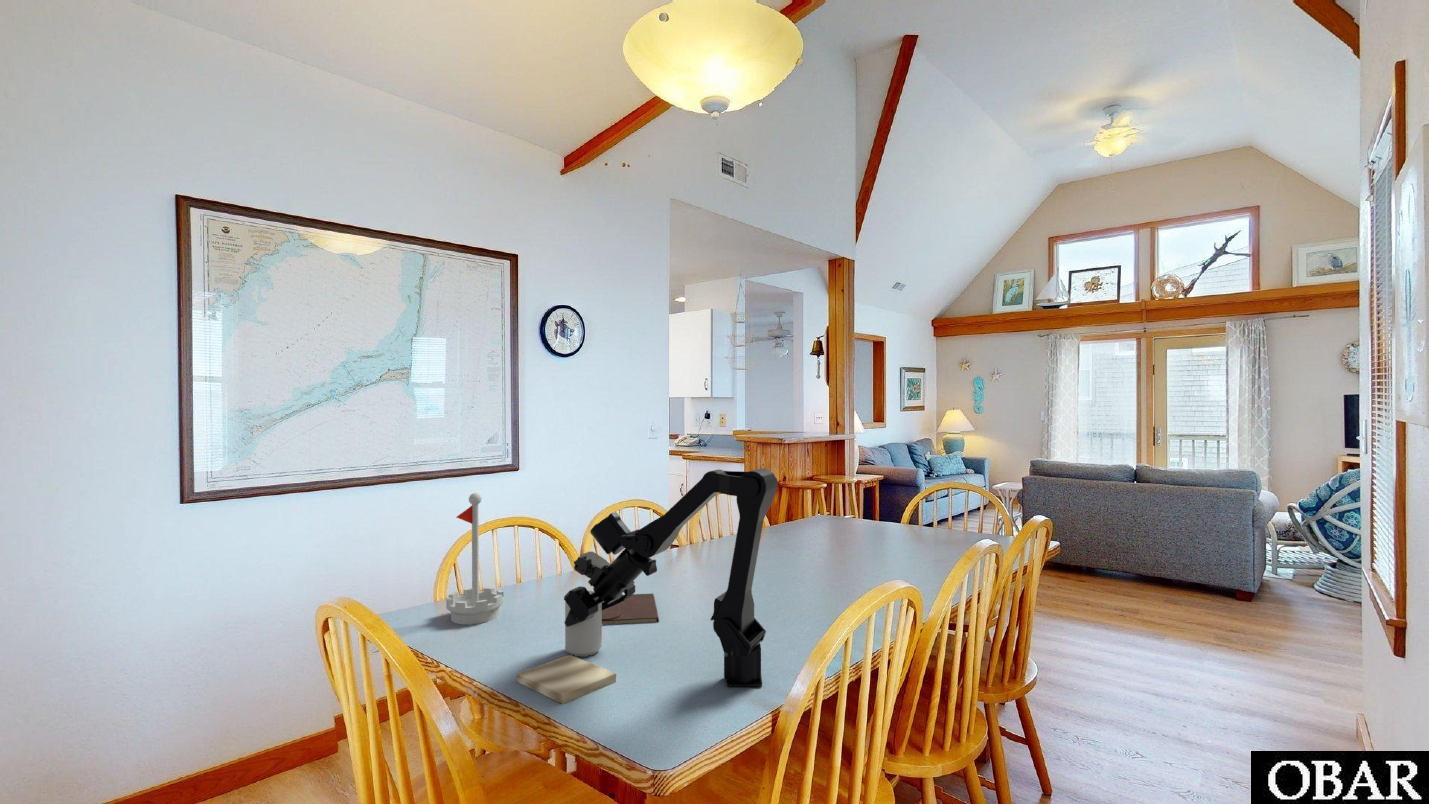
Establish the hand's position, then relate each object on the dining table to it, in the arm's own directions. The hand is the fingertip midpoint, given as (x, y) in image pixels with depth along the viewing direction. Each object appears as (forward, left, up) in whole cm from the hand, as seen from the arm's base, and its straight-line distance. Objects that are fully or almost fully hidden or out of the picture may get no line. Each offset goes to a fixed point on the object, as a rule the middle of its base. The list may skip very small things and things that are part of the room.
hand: (577, 618), depth 139 cm
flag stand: (+30, -21, -7) cm, 37 cm away
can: (-1, +1, -7) cm, 7 cm away
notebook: (-6, -26, -7) cm, 28 cm away
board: (-1, +16, -7) cm, 17 cm away
